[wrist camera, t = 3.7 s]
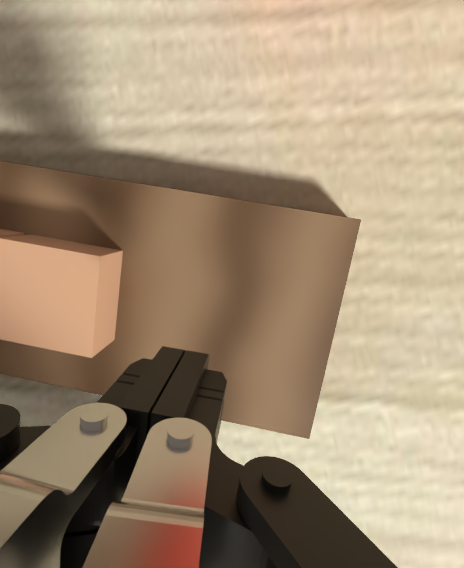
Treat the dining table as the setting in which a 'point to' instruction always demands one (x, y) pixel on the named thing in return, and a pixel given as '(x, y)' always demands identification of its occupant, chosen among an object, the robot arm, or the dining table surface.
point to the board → (195, 287)
